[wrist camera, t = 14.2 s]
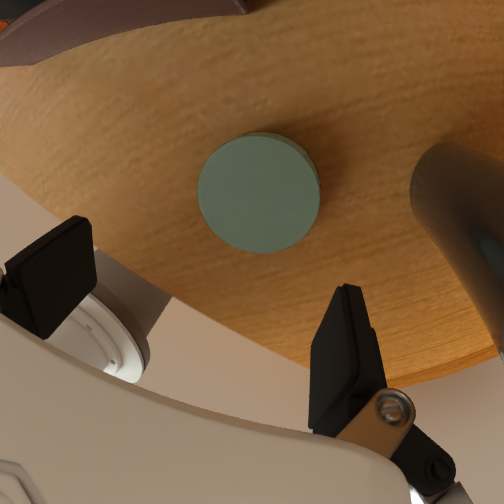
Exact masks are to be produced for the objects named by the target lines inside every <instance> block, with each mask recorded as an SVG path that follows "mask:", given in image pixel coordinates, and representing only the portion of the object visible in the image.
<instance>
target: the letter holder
mask: <svg viewBox="0 0 504 504" xmlns="http://www.w3.org/2000/svg"><path fill="white" fill-rule="evenodd" d="M250 3H251V0H0V21H13V22H12V23H10V24H9V25H8V26H6V27H5V28H4V29H3V30H2V31H1V32H0V67H10V66H24V65H34V64H36V63H38V62H40V61H42V60H44V59H46V58H49V57H51V56H54V55H56V54H58V53H61V52H63V51H65V50H68V49H71V48H73V47H76V46H79V45H82V44H84V43H87V42H90V41H93V40H96V39H100V38H103V37H106V36H110V35H113V34H117V33H120V32H125V31H129V30H133V29H136V28H142V27H145V26H150V25H156V24H161V23H165V22H172V21H177V20H184V19H192V18H200V17H210V16H223V15H243V14H249V13H250Z"/></svg>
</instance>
